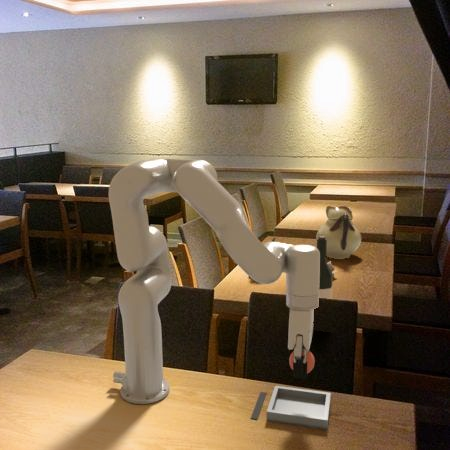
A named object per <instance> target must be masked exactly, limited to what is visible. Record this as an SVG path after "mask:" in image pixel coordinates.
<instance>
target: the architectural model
mask: <svg viewBox="0 0 450 450" xmlns="http://www.w3.org/2000/svg"><path fill="white" fill-rule="evenodd" d="M326 263H327V265H328V266H329V268H330V270H331V272H332V273H333V277H335V273H337V272H338V269H337V270H336V269H335V266H333V264H332V261H331V260H330V261H328V262H326Z"/></svg>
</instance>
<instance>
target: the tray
mask: <svg viewBox="0 0 450 450" xmlns="http://www.w3.org/2000/svg"><path fill="white" fill-rule="evenodd" d="M273 388H274V389H273V391H272V393H271V397H270V399H269V403H268V406H267V410H266V422H270V423H277V424H283V425H284V424H285V425H290V426H296V427H297V426H298V427H304V428H310V429H316V430H317V429H318V430H322V431H323V430H325V431H328V428H329V426H328V425H329V418H330V417H329V416H330V411H331V410H330V409H331V398H332V397H331V396H332V393H331V392H326V391H319V390H313V389H312V390H311V389H306V388H305V389H304V388H297V387H287V386H282V385H275V386H274V387H273Z"/></svg>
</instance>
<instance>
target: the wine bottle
mask: <svg viewBox="0 0 450 450" xmlns="http://www.w3.org/2000/svg"><path fill="white" fill-rule="evenodd" d="M316 248H317V249H318V250H319V252H320V281H319V298H327V299H332V300H333V279H334V278H333V273H332V272H331V270H330V268H329V266H328V265H327V263H328V262H327V257H326V252H327V239H326V237H325V236H319V237H318V239H317V240H316Z"/></svg>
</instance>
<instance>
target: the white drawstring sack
mask: <svg viewBox="0 0 450 450" xmlns="http://www.w3.org/2000/svg"><path fill="white" fill-rule="evenodd" d="M352 212H353V211H352V210H351V208H350V207H349V206H346V205H340V206H330V205H328V206H326V208H325V214H326V217H327V220H326V222H325V223H324V224H322V226H321V227H319V229H318V230H317V232H316V236H315V237H316V239H315V240H316V241H317V239H318V237H319V236H325V237H326V239H327V252H326V256H327V257H326V258H328V257H329V259H332V258H334V259H333V260H346V259H345V258H347V259H350V257H351V255H353V254H354V253H355V252H356V251H357V250H358V248H359V247H360V246H361V242H362V235H361V232H360V230H359V229H358V228H357V227H356V226H355V224H354V223H353V222H352V220H353V219H354V214H353V213H352Z"/></svg>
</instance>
